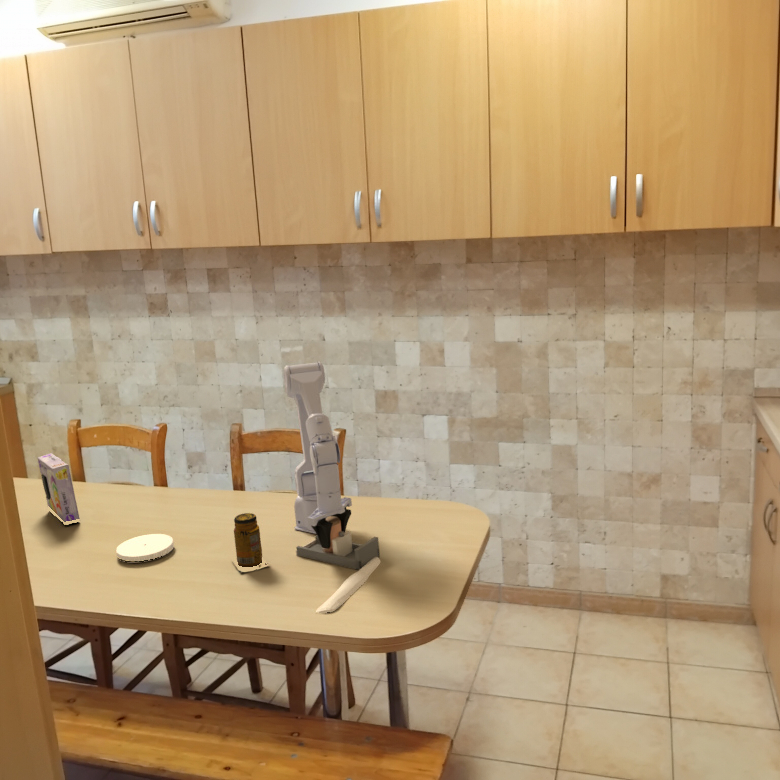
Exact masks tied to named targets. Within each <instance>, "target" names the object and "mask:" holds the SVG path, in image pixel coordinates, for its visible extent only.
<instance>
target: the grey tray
mask: <svg viewBox="0 0 780 780" xmlns="http://www.w3.org/2000/svg"><path fill="white" fill-rule="evenodd" d="M314 538H315V539H313V540H311V541H310V542H308V543H306V544H304V545H302V546H301V545H297V546H296V547H295V548H296V550H295V555H296V556H297V557H303V558H306V559H310V560H315V561H319V562H323V563H328V564H332V565H335V566H340V567H344V568H349V569H352V570H356V571H359V570H360V569H361V568H362V567H363V566H364V565H366V564H367V563H368V562H369V561H370V560H372V559H373V558H375V557H378V558H379V559H380V556H381V555H380V543H379V537H378V536H373V537H372V538H370V539H368V540H366V541H365V542H363V543H355V542H352V552H351V553H349V554H347V555H346V556H341V555H336V554H332V553H328V552H323V551H322V546H321V543H320V541H319V538H318V536H317V534H315V536H314Z"/></svg>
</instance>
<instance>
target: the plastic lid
mask: <svg viewBox="0 0 780 780" xmlns="http://www.w3.org/2000/svg"><path fill="white" fill-rule="evenodd" d="M174 546H175V543H174V538H173V537H172V536H171V535H169V534H163V533H150V534H143V535H138V536H135V537H132V538H131V537H130V539H127V540H125V541H123V542H121V543H120V544H119V545H117V547H116V548H115V549H116V550H115V553H116V557H117V556H118V557H119V558H121V559H123V560H129V561H142V560H143V561H144V560H148V561H151V560H150V559H153V560H156V559H155V558H157V557H159V558H162V557H164V556H166V555H168V554H169V553H170V552H172V550H173V549H174V548H175V547H174ZM161 556H162V557H161ZM157 559H158V558H157ZM144 562H145V561H144Z"/></svg>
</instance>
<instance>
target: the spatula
mask: <svg viewBox="0 0 780 780" xmlns="http://www.w3.org/2000/svg"><path fill="white" fill-rule="evenodd" d="M380 564H381V559H380V557H379V558H378V557H375V558H373V559H372V560H370V561H369V562H368V563H367V564H366V565H364V566H363V567H362V568H361V569H360V570H357V571H356V572H354V573H352V574H351V575H350V576H348V577H347V578H346V579H345V580H344V581H343V582H342V583H341V585H340V587H339V588H337V590H336V591H335V592H334V593H333V594H332V595H331V596H330V597H329V598H328V599H326V601H324V602H323V603H322V604H321V605H320V606H319V607H317V609H316V610H315V611H316V612H319V613H326V614H328V613H327V612H330V613H332V612H334V611H336V610H337V609H339V608H340V607H341V606H342V605H344V604H345V603H346V602H347V601H348V600H347V598H348V597H349V598H351V597H350V595H352V594H353V593H354V592H355V593H356V592H357V590H359V587H360V588H361V587H362V586H363V585H364V584H365V583H366V582H367V581H368V579H369V577H370V575H371V574H372V573H373V572H374V571H375V570H376V569H377V568H378V566H379V565H380ZM364 582H365V583H364ZM361 585H362V586H361ZM355 593H354V594H355ZM354 594H353V595H354ZM353 595H352V596H353ZM346 600H347V601H346ZM345 601H346V602H345ZM344 602H345V603H344ZM343 603H344V604H343Z"/></svg>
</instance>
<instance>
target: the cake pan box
mask: <svg viewBox="0 0 780 780" xmlns="http://www.w3.org/2000/svg"><path fill="white" fill-rule="evenodd" d="M37 461H38V462H37V463H38V467H39V472H40V474H41V481H42V485H43V489H44V493H45V501H46V505H47V507H48V506H49V507H50V508H51V509H52V510H53V511H54V512H55V513H56V514H57V515H58V516H59V517H60V518H61V519H62V520H63V521H64V522H66V521H72V520H76V519H80V514H79V509H78V503H77V500H76V499H77V498H76V495H75V489H74V483H73V481H72V476H71V475H72V474H71V470H70V465H69V464H68V463H66V462H64V461H63V460H62V459H61V458H60V457H59V456H56V455H55V454H53V452H51V453H47V454H44V455H42V456H37ZM80 520H81V519H80Z"/></svg>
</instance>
